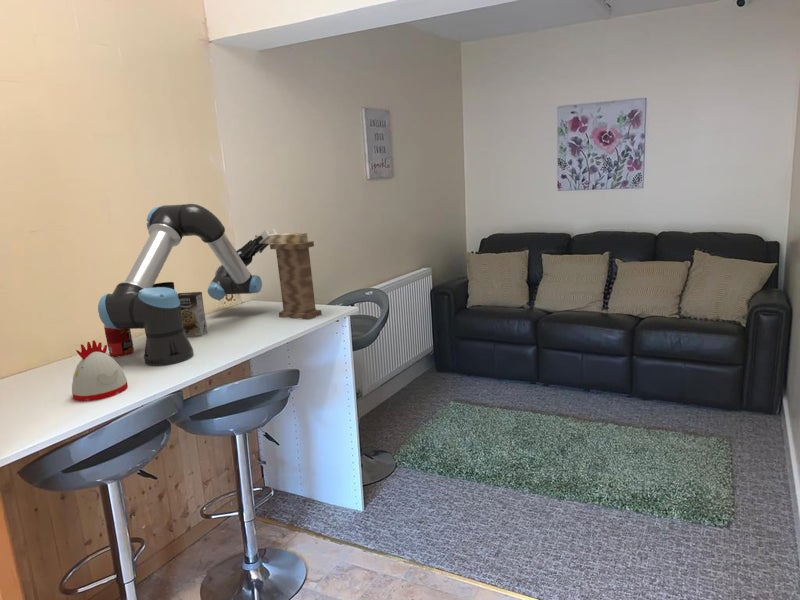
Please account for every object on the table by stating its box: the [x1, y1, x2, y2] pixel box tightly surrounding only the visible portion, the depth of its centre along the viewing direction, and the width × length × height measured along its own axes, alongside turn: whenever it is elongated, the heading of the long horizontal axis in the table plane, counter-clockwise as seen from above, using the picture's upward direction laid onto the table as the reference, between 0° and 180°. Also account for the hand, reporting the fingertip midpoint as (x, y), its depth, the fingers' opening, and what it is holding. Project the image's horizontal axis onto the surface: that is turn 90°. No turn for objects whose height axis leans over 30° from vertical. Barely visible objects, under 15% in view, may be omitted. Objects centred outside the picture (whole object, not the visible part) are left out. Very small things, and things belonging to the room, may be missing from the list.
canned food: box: [103, 324, 135, 358], centre depth 202 cm, size 8×8×11 cm
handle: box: [254, 232, 309, 245], centre depth 235 cm, size 24×6×4 cm, turn 58°
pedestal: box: [269, 240, 322, 320], centre depth 235 cm, size 16×8×30 cm, turn 58°
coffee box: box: [177, 291, 208, 338], centre depth 219 cm, size 9×6×16 cm
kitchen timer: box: [71, 339, 128, 402], centre depth 163 cm, size 14×14×15 cm
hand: (271, 232), depth 237 cm, fingers closed on handle, 3 cm apart
